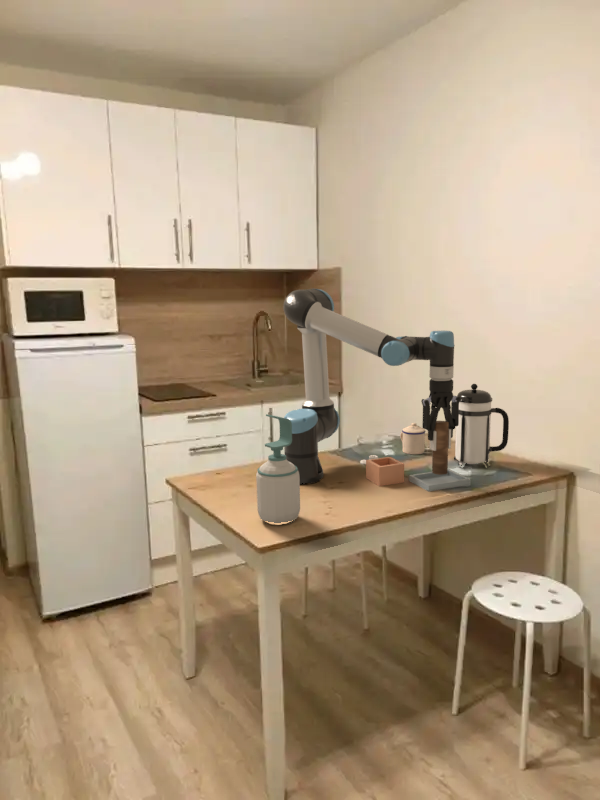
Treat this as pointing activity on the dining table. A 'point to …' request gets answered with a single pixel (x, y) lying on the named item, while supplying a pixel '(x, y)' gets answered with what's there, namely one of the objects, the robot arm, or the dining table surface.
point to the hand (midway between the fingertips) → (440, 448)
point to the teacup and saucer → (369, 458)
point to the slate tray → (439, 480)
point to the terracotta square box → (385, 471)
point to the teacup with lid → (413, 439)
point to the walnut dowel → (440, 449)
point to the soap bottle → (278, 481)
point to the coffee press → (476, 427)
